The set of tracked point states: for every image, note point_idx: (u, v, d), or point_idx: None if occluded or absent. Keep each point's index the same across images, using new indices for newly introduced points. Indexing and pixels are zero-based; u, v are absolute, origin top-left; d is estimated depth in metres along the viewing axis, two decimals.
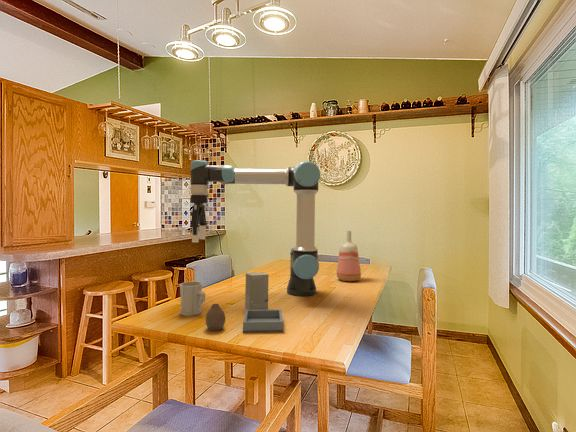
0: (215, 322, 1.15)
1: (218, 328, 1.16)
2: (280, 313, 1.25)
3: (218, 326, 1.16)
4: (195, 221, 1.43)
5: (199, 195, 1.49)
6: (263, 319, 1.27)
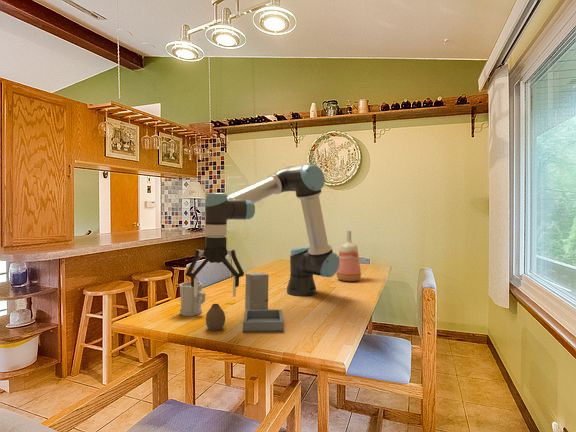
0: (215, 322, 1.15)
1: (218, 328, 1.16)
2: (280, 313, 1.25)
3: (218, 326, 1.16)
4: (188, 270, 1.17)
5: (205, 238, 1.17)
6: (263, 319, 1.27)
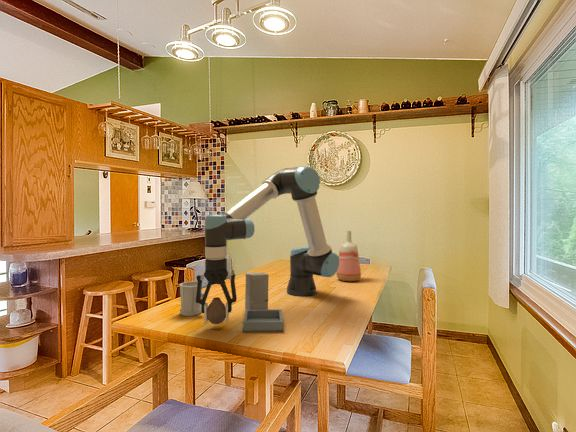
0: (216, 315, 1.16)
1: (219, 321, 1.17)
2: (280, 313, 1.25)
3: (220, 319, 1.16)
4: None
5: (206, 260, 1.17)
6: (263, 319, 1.27)
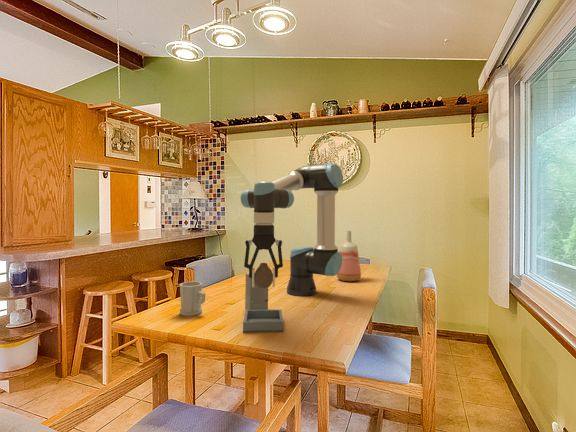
0: (265, 279, 1.19)
1: (267, 285, 1.20)
2: (280, 313, 1.25)
3: (267, 283, 1.20)
4: None
5: (254, 225, 1.21)
6: (263, 319, 1.27)
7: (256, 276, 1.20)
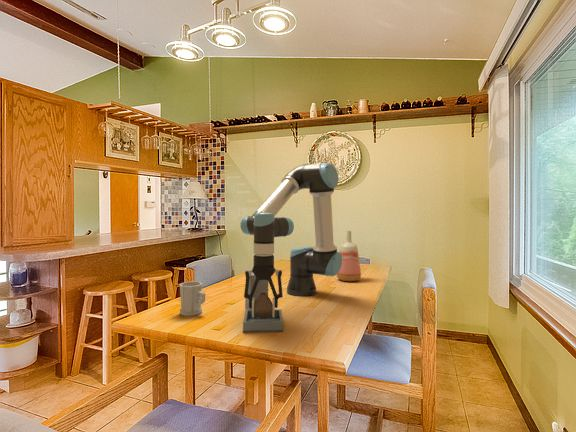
0: (264, 310, 1.19)
1: (267, 316, 1.20)
2: (280, 313, 1.25)
3: (267, 314, 1.20)
4: (244, 292, 1.22)
5: (254, 256, 1.21)
6: (263, 319, 1.27)
7: (256, 307, 1.20)
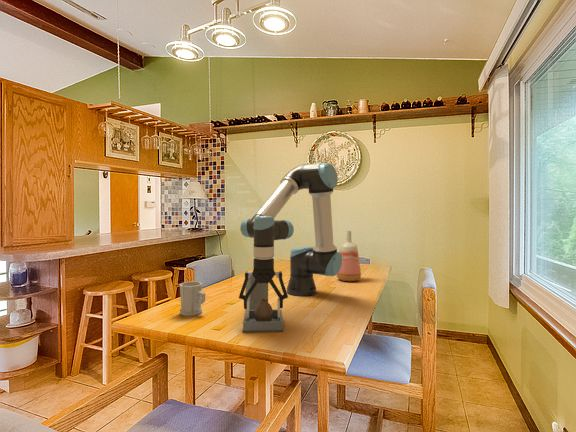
0: (265, 316, 1.20)
1: None
2: (280, 313, 1.25)
3: (268, 320, 1.20)
4: (240, 292, 1.21)
5: (254, 259, 1.21)
6: None
7: (256, 313, 1.20)
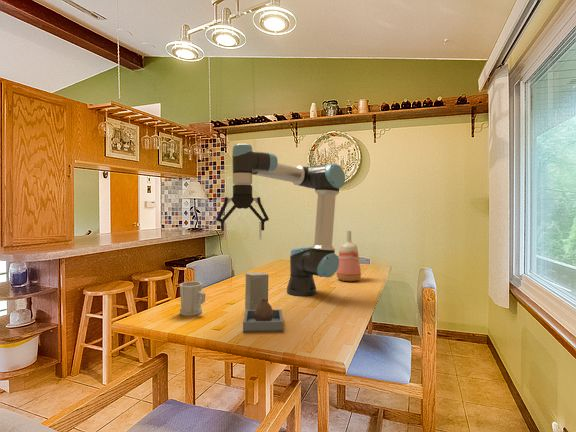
0: (265, 316, 1.20)
1: None
2: (280, 313, 1.25)
3: (268, 320, 1.20)
4: None
5: (233, 185, 1.28)
6: None
7: (256, 313, 1.20)
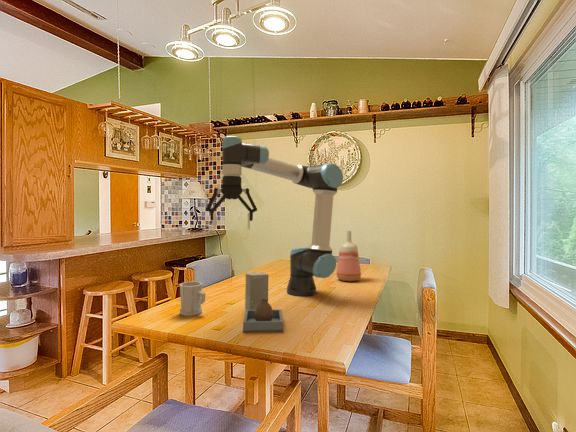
0: (265, 316, 1.20)
1: None
2: (280, 313, 1.25)
3: (268, 320, 1.20)
4: None
5: (223, 177, 1.31)
6: None
7: (256, 313, 1.20)
